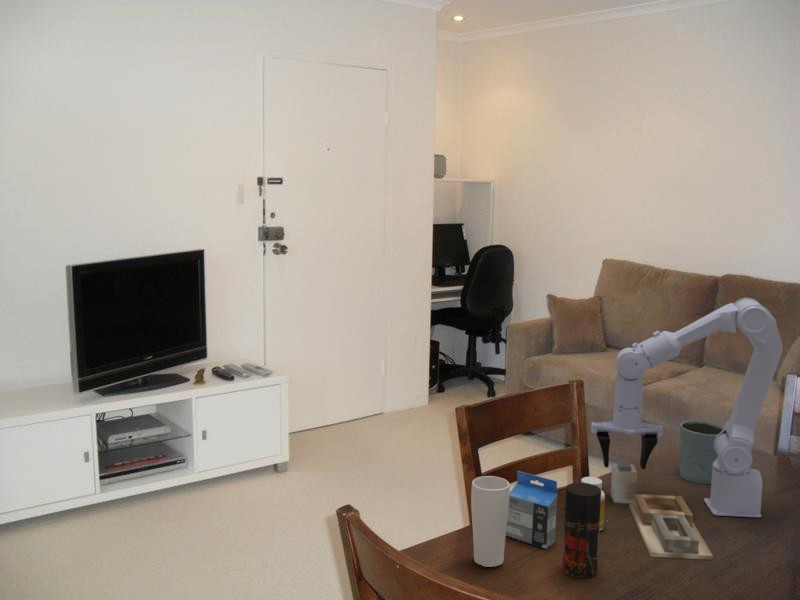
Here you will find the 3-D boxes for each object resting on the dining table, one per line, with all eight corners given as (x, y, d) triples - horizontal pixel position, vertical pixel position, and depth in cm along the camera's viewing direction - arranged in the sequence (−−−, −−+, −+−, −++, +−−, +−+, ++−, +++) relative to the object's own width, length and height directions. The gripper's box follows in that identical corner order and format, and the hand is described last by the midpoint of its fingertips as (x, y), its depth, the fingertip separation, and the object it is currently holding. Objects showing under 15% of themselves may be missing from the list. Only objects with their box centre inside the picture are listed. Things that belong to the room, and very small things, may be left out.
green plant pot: (673, 467, 192) (676, 419, 190) (717, 470, 191) (721, 421, 189) (681, 484, 182) (685, 432, 180) (728, 486, 181) (732, 435, 179)
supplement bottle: (601, 521, 162) (603, 475, 160) (605, 533, 157) (607, 486, 155) (574, 520, 163) (576, 474, 161) (577, 532, 157) (579, 484, 156)
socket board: (683, 509, 168) (684, 494, 167) (712, 559, 146) (714, 542, 146) (629, 507, 169) (629, 492, 169) (650, 556, 147) (651, 539, 147)
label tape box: (504, 537, 155) (506, 476, 153) (515, 529, 158) (517, 469, 156) (546, 550, 150) (548, 487, 148) (556, 542, 153) (558, 480, 151)
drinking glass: (497, 575, 140) (500, 493, 138) (463, 564, 144) (464, 484, 141) (513, 559, 146) (516, 480, 144) (480, 550, 149) (482, 472, 147)
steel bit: (631, 495, 176) (633, 461, 174) (635, 503, 171) (637, 469, 170) (610, 494, 176) (612, 461, 175) (613, 502, 172) (615, 468, 170)
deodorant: (558, 562, 145) (562, 483, 143) (590, 561, 146) (594, 482, 143) (568, 578, 139) (571, 496, 137) (601, 577, 140) (606, 495, 137)
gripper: (595, 409, 167) (592, 471, 169) (667, 412, 166) (663, 475, 168) (591, 399, 174) (587, 459, 176) (660, 402, 173) (656, 463, 175)
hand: (624, 466), depth 172 cm, fingers open, 7 cm apart
